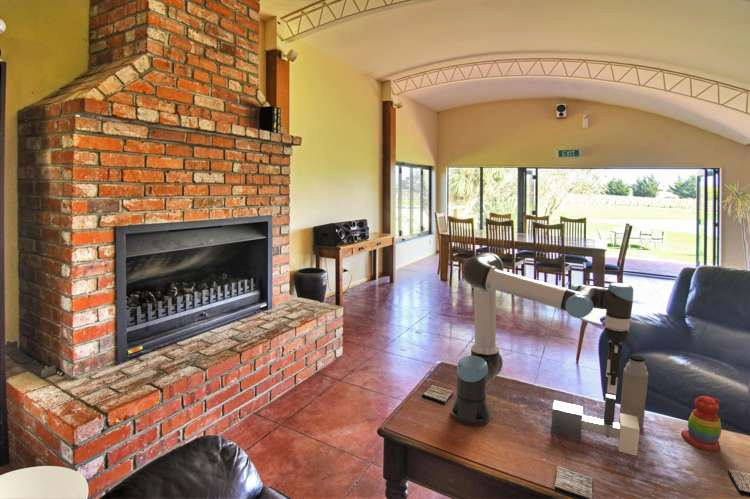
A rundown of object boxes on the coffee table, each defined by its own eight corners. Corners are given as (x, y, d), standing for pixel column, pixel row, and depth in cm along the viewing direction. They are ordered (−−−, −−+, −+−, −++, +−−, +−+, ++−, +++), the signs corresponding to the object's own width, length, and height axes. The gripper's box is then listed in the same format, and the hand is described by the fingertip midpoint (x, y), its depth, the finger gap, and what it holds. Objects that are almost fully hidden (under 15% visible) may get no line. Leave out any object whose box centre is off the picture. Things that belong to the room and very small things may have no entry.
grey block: (551, 432, 156) (552, 408, 155) (552, 423, 162) (554, 400, 161) (580, 440, 152) (582, 415, 150) (581, 430, 158) (582, 406, 156)
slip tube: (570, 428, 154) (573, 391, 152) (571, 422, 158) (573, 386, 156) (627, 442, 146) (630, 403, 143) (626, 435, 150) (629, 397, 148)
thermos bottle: (637, 420, 164) (644, 353, 160) (646, 432, 156) (653, 362, 152) (615, 418, 166) (621, 352, 161) (623, 430, 158) (629, 360, 154)
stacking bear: (713, 437, 153) (719, 392, 150) (726, 454, 144) (733, 406, 141) (679, 432, 156) (684, 388, 154) (689, 448, 147) (695, 401, 144)
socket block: (618, 451, 145) (620, 425, 144) (617, 437, 153) (619, 412, 152) (636, 455, 143) (639, 429, 141) (634, 441, 151) (637, 416, 149)
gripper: (632, 341, 132) (625, 403, 135) (626, 319, 154) (620, 373, 157) (605, 337, 135) (599, 397, 139) (603, 316, 157) (598, 368, 160)
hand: (610, 384), depth 148 cm, fingers open, 13 cm apart
